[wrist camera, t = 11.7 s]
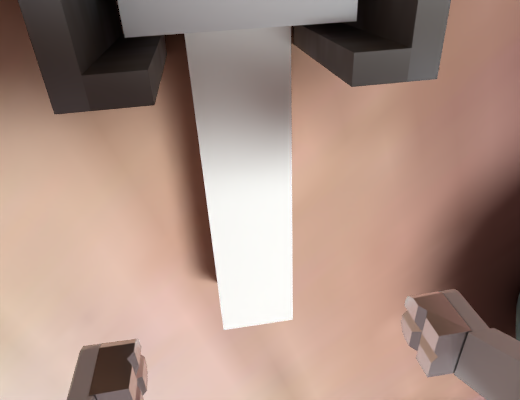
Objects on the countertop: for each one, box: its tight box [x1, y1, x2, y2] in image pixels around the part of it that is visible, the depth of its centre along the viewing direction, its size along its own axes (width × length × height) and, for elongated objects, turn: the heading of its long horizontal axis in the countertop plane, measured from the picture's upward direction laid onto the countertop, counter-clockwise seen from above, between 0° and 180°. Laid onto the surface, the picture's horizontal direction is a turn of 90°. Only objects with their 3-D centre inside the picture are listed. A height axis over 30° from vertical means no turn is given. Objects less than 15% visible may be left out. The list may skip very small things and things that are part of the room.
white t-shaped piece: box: [117, 0, 358, 330], centre depth 19 cm, size 17×8×6 cm, turn 3°
